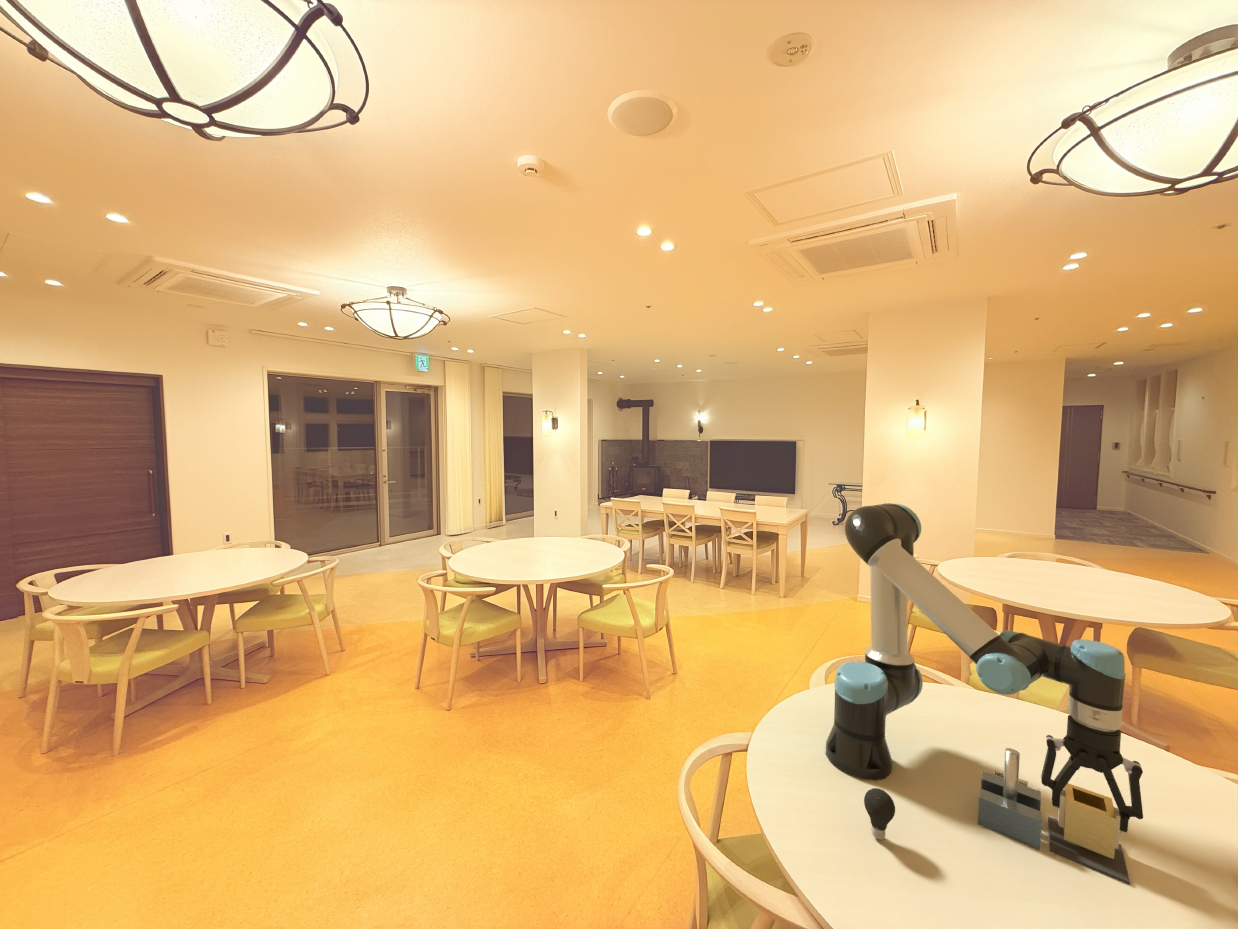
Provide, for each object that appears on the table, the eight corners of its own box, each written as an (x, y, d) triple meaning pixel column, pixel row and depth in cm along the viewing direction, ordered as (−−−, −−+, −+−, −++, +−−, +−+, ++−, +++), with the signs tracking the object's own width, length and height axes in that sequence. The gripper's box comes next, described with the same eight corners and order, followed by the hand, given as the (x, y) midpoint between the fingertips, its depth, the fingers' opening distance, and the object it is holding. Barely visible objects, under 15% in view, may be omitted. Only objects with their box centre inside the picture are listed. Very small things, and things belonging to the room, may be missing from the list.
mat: (1049, 851, 96) (1050, 849, 96) (1048, 819, 104) (1048, 816, 104) (1129, 885, 89) (1130, 882, 89) (1120, 847, 97) (1121, 844, 97)
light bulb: (893, 854, 95) (895, 805, 94) (861, 841, 98) (863, 794, 97) (894, 834, 99) (896, 788, 99) (864, 823, 102) (865, 778, 102)
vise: (977, 824, 102) (981, 754, 102) (983, 779, 116) (986, 717, 115) (1040, 850, 96) (1044, 776, 95) (1038, 799, 110) (1042, 734, 109)
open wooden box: (1063, 839, 96) (1066, 800, 95) (1061, 818, 101) (1064, 782, 101) (1114, 859, 91) (1116, 819, 91) (1109, 836, 97) (1111, 798, 96)
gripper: (1027, 711, 99) (1021, 818, 100) (1174, 752, 86) (1165, 875, 87) (1027, 696, 104) (1022, 798, 105) (1165, 733, 91) (1157, 848, 93)
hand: (1086, 832), depth 96 cm, fingers closed on open wooden box, 7 cm apart
